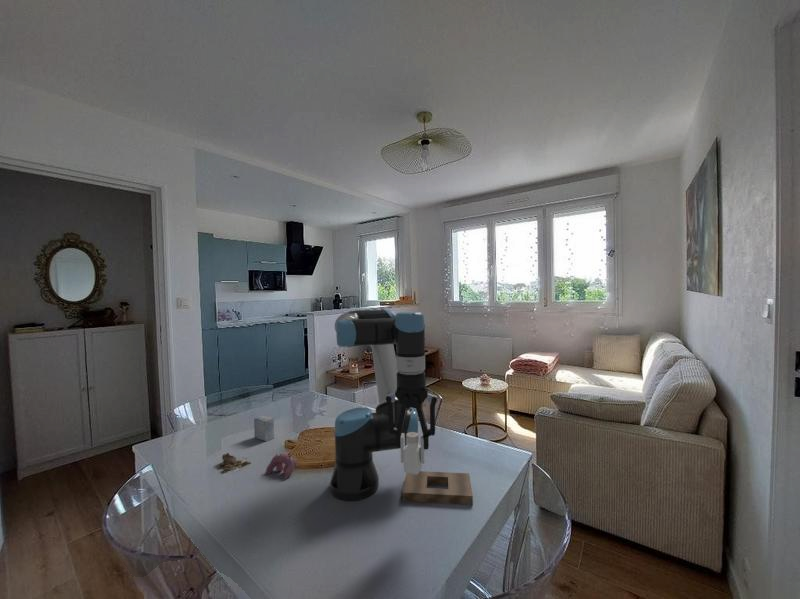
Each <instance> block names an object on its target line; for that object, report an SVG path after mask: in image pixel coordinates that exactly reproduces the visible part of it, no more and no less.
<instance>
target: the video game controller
mask: <svg viewBox="0 0 800 599" xmlns="http://www.w3.org/2000/svg"><path fill="white" fill-rule="evenodd" d="M297 462H298V461H297V459H296V458H295V457H294V456H292V455H291V454H288V453H278V454H275V456H273V457H272V459H271V460H270V462H269V464H267V467H266V470H265V473H266V474H267V475H268V474H270V473H272V472H273V471H274V469H276V471H277V472H283V473H284V479H285V480H287V479H288V478H290V477H291V475H292V474H293V472H294V470H295V468H297V467H296V466H297V465H298V464H297Z"/></svg>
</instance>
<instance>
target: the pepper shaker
mask: <svg viewBox="0 0 800 599" xmlns="http://www.w3.org/2000/svg"><path fill="white" fill-rule="evenodd" d="M406 442H407V445H406V446H405V448H404V463H403V471H404V473H410V474H415V475H417V474H418V473H419V472H420V471H421V470H422V468H423V464H421V444H419V432H418V433H415V432H409V433H407V434H406Z"/></svg>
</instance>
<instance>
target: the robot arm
mask: <svg viewBox="0 0 800 599" xmlns="http://www.w3.org/2000/svg"><path fill="white" fill-rule="evenodd" d="M425 327H426V324H425V316H424V314H423V313H422V312H420V311H404V312H403V311H402V312H397V313H395V312H394V311H393V310H391V309H383V308H381V309H366V310H365V309H363V310H361V309H360V310H359V309H358V310H357V309H356V310H351V311H348V312H344V313H343V314H340V315H339V316H338V317H337V318H336V320H335V322H334V331H335V334H336V335H335V336H336V345H337V346H338V347H341V348H345V347H346V348H352V347H353V348H354V347H363V346H365V347H367V346H369V347H371V352H372V353H371V354H372V362H373V368H374V369H373V370H374V375H375V382H376V390H377V397H378V404H377V405H376V407H375V412H372V410H371V409H370V408H368V407H355V408H354V407H353V408H350V409H348V410H345V411H343V412H341V413H339V415H338V416H337V417H336V418H335V421H334V430H333V433H334V449H335V450H334V455H335V456H334V457H335V458H334V460H335V461H334V462H335V464H334V467H333V471H332V474H331V478H330V483H329V487H330V488H329V490H330V493H331V494H332V496H333V497H335V498H336V499H339V500H343V501H358V500H363V499H366V498H369V497H370V496H372V495H373V494H375V492H377V490H378V489H379V486H380V485H379V484H380V483H379V479H380V478H379V474H378V470H377V469H376V468H377V467H376V466H375V463H374V462H375V461H374V458H373V453H377V452H383V451H384V452H385V451H390V450H398V449H400V463H403V464H404V448H405V446H406V445H407V442H406V434H407V433H409V432H415V433H418V434H419V425H420V427H421V428H420V429H421V434H420V446H421V464H422V465H424V464H425V458H426V455H425V454H426V452H425V450H428V449H429V447H430V444H429V442H430V441H429V437H431V436H435V435H436V404H437V401H438V396H437V394H432V393H429V392H428V390H427V387H426V386H427V385H426V384H427V383H426V372H425V370H426V349H425V348H426V346H425V345H426V343H425V342H426V340H425V338H426V337H425V329H426V328H425ZM394 345H395V347H394ZM395 349H396V351H395ZM426 399H427V402H428V404H430V405H429V428H428V425H427V421H426V416H425V412H424V408H423V403H424V402H425V400H426Z"/></svg>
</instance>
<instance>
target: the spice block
mask: <svg viewBox="0 0 800 599" xmlns="http://www.w3.org/2000/svg"><path fill="white" fill-rule="evenodd" d="M428 485H438V486H440V485H441V486H442V485H443V486H447V488H433V487H431V488H429V487H428ZM472 489H473V488H472V483H471V475H470V473H469V472H467V473H465V472H447V471H446V472H445V471H444V472H443V471H426V470H425V471H424V470H423V471H421V470H420V472H419V473H418V474H417V475H415V474H410V473H406V474H405V480H404V483H403V488H402V502H415V503H431V504H432V503H433V504H452V505H467V506H468V505H469V506H470V505H471V506H474V499H473V498H474V496H473V490H472Z"/></svg>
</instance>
